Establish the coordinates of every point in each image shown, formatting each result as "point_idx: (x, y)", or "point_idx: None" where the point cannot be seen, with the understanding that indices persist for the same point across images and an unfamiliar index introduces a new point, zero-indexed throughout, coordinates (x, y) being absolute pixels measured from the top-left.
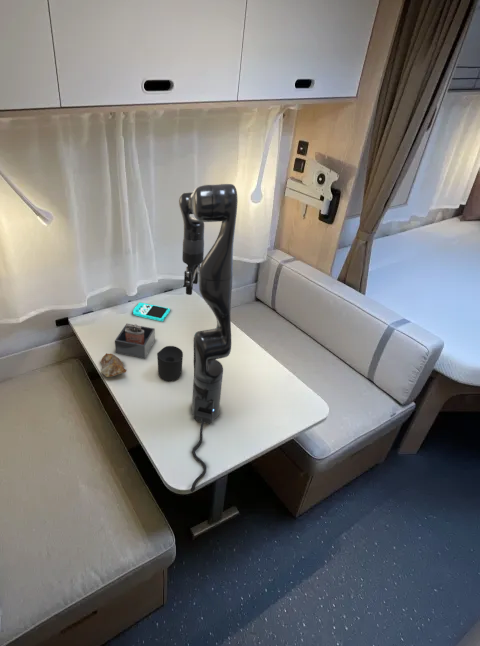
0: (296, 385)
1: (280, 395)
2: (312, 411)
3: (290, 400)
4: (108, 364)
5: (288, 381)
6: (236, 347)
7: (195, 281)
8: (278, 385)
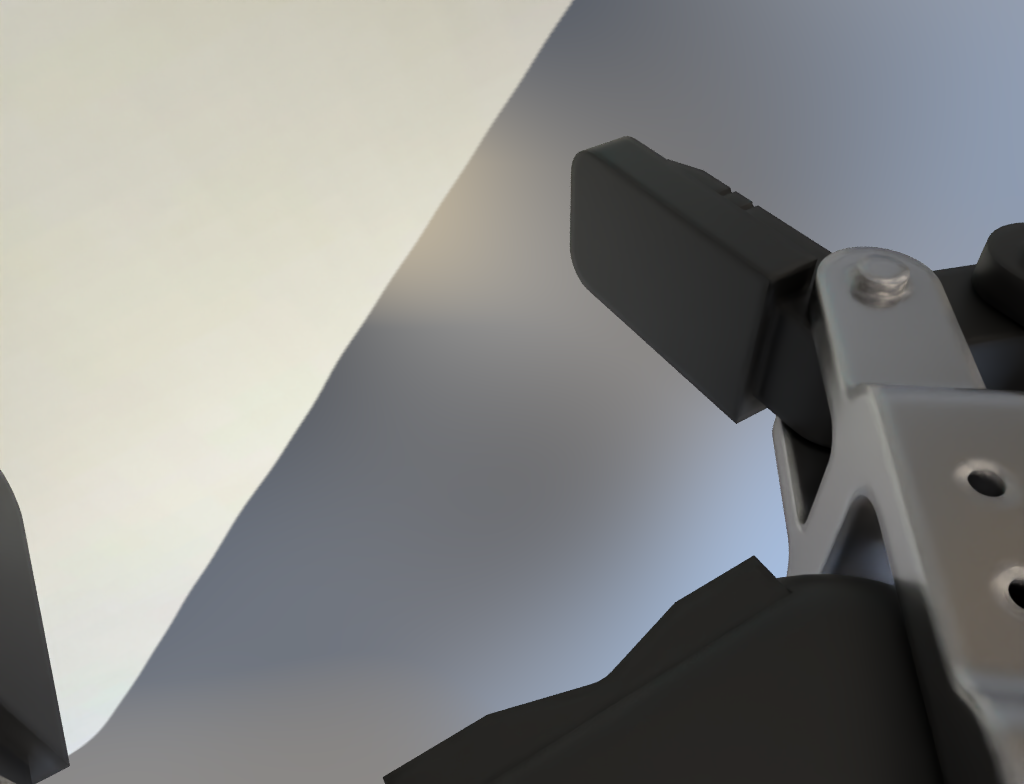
0: (161, 636)
1: None
2: None
3: None
4: None
5: (165, 605)
6: (299, 262)
7: (613, 269)
8: (93, 601)
